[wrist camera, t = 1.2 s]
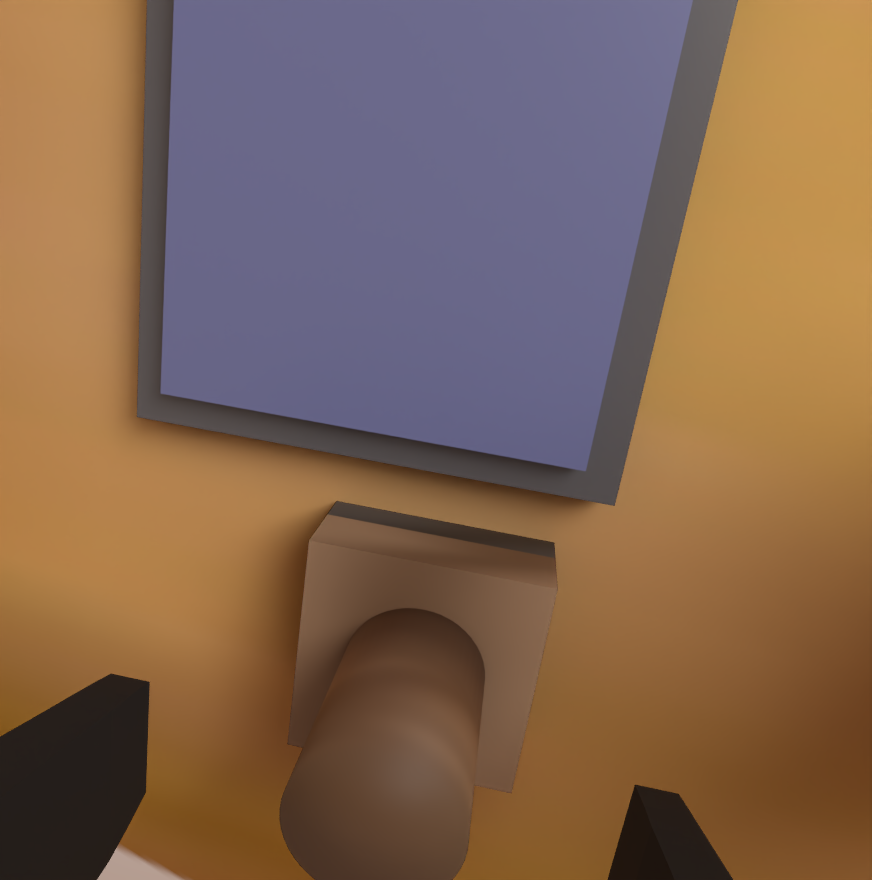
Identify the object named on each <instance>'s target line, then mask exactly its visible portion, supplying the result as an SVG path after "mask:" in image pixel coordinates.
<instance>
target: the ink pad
mask: <svg viewBox="0 0 872 880" xmlns="http://www.w3.org/2000/svg"><path fill="white" fill-rule="evenodd" d="M737 2H738V0H147V23H146V65H145V106H144V148H143V190H142V231H141V273H140V314H139V356H138V397H137V417H140V418H146V419H151V420H156V421H162V422H167V423H173V424H178V425H183V426H189V427H194V428H199V429H205V430H210V431H216V432H221V433H226V434H232V435H237V436H242V437H248V438H253V439H258V440H264V441H269V442H275V443H280V444H285V445H291V446H296V447H301V448H307V449H312V450H318V451H323V452H328V453H334V454H339V455H344V456H350V457H355V458H361V459H366V460H371V461H377V462H382V463H387V464H393V465H398V466H404V467H409V468H414V469H420V470H425V471H430V472H436V473H441V474H447V475H452V476H457V477H463V478H468V479H473V480H479V481H484V482H490V483H495V484H500V485H506V486H511V487H516V488H522V489H527V490H533V491H538V492H543V493H549V494H554V495H559V496H565V497H570V498H576V499H581V500H586V501H592V502H597V503H602V504H608V505H613V506H615V502H616V498H617V494H618V490H619V485H620V481H621V477H622V473H623V469H624V465H625V461H626V457H627V453H628V449H629V445H630V440H631V436H632V432H633V428H634V424H635V420H636V416H637V412H638V408H639V404H640V399H641V395H642V391H643V387H644V383H645V379H646V375H647V371H648V367H649V363H650V358H651V354H652V350H653V346H654V342H655V338H656V334H657V330H658V326H659V322H660V318H661V313H662V309H663V305H664V301H665V297H666V293H667V289H668V285H669V281H670V277H671V273H672V268H673V264H674V260H675V256H676V252H677V248H678V244H679V240H680V236H681V232H682V227H683V223H684V219H685V215H686V211H687V207H688V203H689V199H690V195H691V191H692V186H693V182H694V178H695V174H696V170H697V166H698V162H699V158H700V154H701V150H702V146H703V141H704V137H705V133H706V129H707V125H708V121H709V117H710V113H711V109H712V105H713V100H714V96H715V92H716V88H717V84H718V80H719V76H720V72H721V68H722V64H723V60H724V55H725V51H726V47H727V43H728V39H729V35H730V31H731V27H732V23H733V19H734V14H735V10H736V6H737Z"/></svg>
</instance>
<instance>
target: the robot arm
mask: <svg viewBox="0 0 872 880" xmlns="http://www.w3.org/2000/svg"><path fill="white" fill-rule="evenodd" d="M149 683H150V682H147V681H143V680H138V679H133V678H128V677H124V676H119V675H114V674H110V675H108V676H106V677H104V678H102V679H100V680H98V681H96V682H95V683H93V684H91V685H89V686H88V687H86V688H84V689H82V690H81V691H79V692H77V693H75V694H74V695H72V696H70V697H68V698H67V699H65V700H63V701H62V702H60V703H58V704H56V705H55V706H53V707H51V708H50V709H48V710H46V711H44V712H43V713H41V714H39V715H37V716H36V717H34V718H32V719H31V720H29V721H27V722H25V723H24V724H22V725H20V726H18V727H16V728H15V729H13V730H11V731H9V732H8V733H6V734H4V735H2V736H1V737H0V880H97V879H98V877H99V876H100V874H101V873H102V871H103V869H104V868H105V866H106V865H107V863H108V862H109V860H110V858H111V857H112V855H113V853H114V851H115V849H116V848H117V846H118V844H119V842H120V840H121V838H122V837H123V835H124V833H125V831H126V829H127V827H128V825H129V824H130V822H131V820H132V818H133V816H134V814H135V812H136V810H137V808H138V806H139V804H140V802H141V800H142V798H143V796H144V795H145V793H146V769H147V741H148V712H149ZM608 880H733V879H732V877H731V875H730V874H729V872H728V871H727V869H726V868H725V866H724V865H723V863H722V861H721V860H720V858H719V857H718V855H717V854H716V852H715V850H714V849H713V847H712V846H711V844H710V842H709V841H708V839H707V838H706V836H705V834H704V833H703V831H702V830H701V828H700V827H699V825H698V823H697V822H696V820H695V819H694V817H693V815H692V814H691V812H690V811H689V809H688V808H687V806H686V805H685V803H684V801H683V800H682V798H681V797H680V795H679V794H677V793H672V792H667V791H662V790H658V789H653V788H648V787H644V786H639V785H635V787H634V790H633V794H632V797H631V800H630V804H629V807H628V811H627V814H626V818H625V821H624V825H623V828H622V832H621V835H620V838H619V842H618V845H617V849H616V852H615V856H614V859H613V863H612V866H611V869H610V873H609V876H608Z"/></svg>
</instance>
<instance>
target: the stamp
mask: <svg viewBox="0 0 872 880" xmlns="http://www.w3.org/2000/svg"><path fill="white" fill-rule="evenodd" d="M557 590H558V586H557V573H556V560H555V546H554V543H553V542H548V541H543V540H538V539H532V538H527V537H522V536H517V535H511V534H506V533H501V532H496V531H491V530H485V529H480V528H475V527H470V526H464V525H459V524H454V523H449V522H444V521H438V520H433V519H428V518H423V517H417V516H412V515H407V514H402V513H396V512H391V511H386V510H381V509H376V508H370V507H365V506H360V505H355V504H349V503H344V502H339V501H337V502H336V503H335V504H334V506H333V507H332V509H331V510H330V512H329V513H328V514H327V516H326V517H325V519H324V520H323V521H322V523H321V524H320V526H319V527H318V528H317V530H316V531H315V533H314V534H313V536H312V537H311V538H310V540H309V546H308V555H307V565H306V574H305V583H304V593H303V602H302V612H301V621H300V631H299V640H298V650H297V659H296V669H295V678H294V687H293V697H292V706H291V716H290V725H289V735H288V745H293V746H298V747H302V748H303V749H302V752H301V754H300V756H299V758H298V761H297V763H296V765H295V768H294V770H293V772H292V774H291V777H290V779H289V781H288V784H287V786H286V788H285V791H284V793H283V796H282V799H281V804H280V826H281V830H282V834H283V837H284V840H285V842H286V844H287V847H288V849H289V850H290V852H291V854H292V855H293V857H294V858H295V860H296V861H297V862H298V863H299V865H300V866H301V867H302V868H303V869H304V870H305V871H306V872H307V873H308V874H309V875H310V876H312V877H313V878H314V879H315V880H452V879H453V878H454V877H455V876H456V874H457V873H458V872H459V870H460V869H461V867H462V865H463V863H464V861H465V858H466V854H467V851H468V843H469V834H470V824H471V814H472V804H473V794H474V785H476V786H480V787H485V788H489V789H494V790H498V791H503V792H507V793H512V789H513V784H514V780H515V775H516V771H517V767H518V762H519V758H520V753H521V749H522V744H523V740H524V736H525V731H526V727H527V722H528V718H529V714H530V709H531V705H532V700H533V696H534V692H535V687H536V683H537V678H538V674H539V669H540V665H541V661H542V656H543V652H544V647H545V643H546V639H547V634H548V630H549V625H550V621H551V617H552V612H553V608H554V603H555V599H556V594H557Z"/></svg>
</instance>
